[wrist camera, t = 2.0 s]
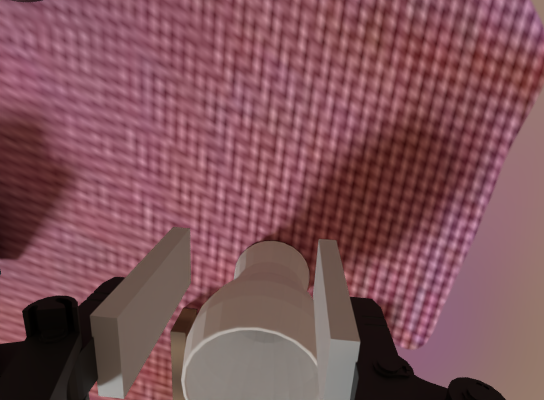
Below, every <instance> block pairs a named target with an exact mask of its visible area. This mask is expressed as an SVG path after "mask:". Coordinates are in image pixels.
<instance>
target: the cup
mask: <svg viewBox="0 0 544 400" xmlns="http://www.w3.org/2000/svg"><path fill="white" fill-rule="evenodd" d="M308 284H309V268H308V266H307V263H306V261H305V259H304V258H303V256H302V255H301V254H300V253H299V252H298V251H297V250H296V249H295V248H293V247H291V246H289V245H287V244H285V243H282V242H277V241H264V242H260V243H257V244H254V245H252V246H251V247H249V248H247V249H246V250H245V251H244V252H243V253H242V254H241V256H240V257H239V259H238V261H237V263H236V269H235V275H234V280H233V281H231V282H229V283H227V284H226V285H224V286H223V287H222V288H221V289H219V290H218V291H217V292H216V293H214V294H213V295H212V296H211V297H210V298H209V299H208V301H207V302H206V303H205V304H204V305H203V306H202V307H201V309H200V311H199V313H198V315H197V317H196V319H195V321H194V323H193V325H192V328H191V330H190V332H189V334H188V336H187V340H186V346H185V353H184V361H183V369H182V377H181V382H182V388H183V394H184V397H185V400H319V383H318V366H317V349H316V333H315V316H314V300H313V298H312V297H311V296H310V294H309V293H308V292H307V289H308Z"/></svg>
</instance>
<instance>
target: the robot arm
mask: <svg viewBox="0 0 544 400" xmlns="http://www.w3.org/2000/svg"><path fill="white" fill-rule="evenodd" d="M11 1H17V2H36V1H42V0H11ZM190 283H191V264H190V228H179V227H173V228H172V229H171V230H170V231H169V232H168V233H167V234H166V235H165V236H164V237H163V238H162V240H161V241H160V242H159V243H158V244H157V245H156V246H155V247H154V248H153V249H152V250H151V251H150V252H149V253H148V254H147V255H146V256H145V258H144V259H143V260H142V261H141V262H140V263H139V264H138V265H137V266H136V267H135V268H134V269H133V270H132V271H131V272H130V273H129V275H128V276H127V277H126V278H124V277H114V278H112V279H110V280H108V281H106V282H104V283H102V284H101V285H100V286H99V287H98V288H97V289H96V290H95V291H94V293H92V294H91V295H90V296H89V297H88V298H87V300H85V301H84V302H83V303H81V304H80V305H79V306H78V302H77V301H76V300H75V298H72V297H69V296H52V297H47V298H44V299H41V300H37V301H36V302H34V303H32V304H30V305H28V306H27V307H26V308H25V309H24V310H23V311H22V313H23V319H24V324H25V330H26V336H27V338H26V339H25V341H21V342H13V343H5V344H0V400H89V391H90V389H91V388H92V387H93V385H94V384H95V382H96V381H97V384H98V393H99V396H105V397H114V398H123V399H124V398H125V396H126V394H127V393H128V391H129V389H130V387H131V386H132V384H133V382H134V380H135V379H136V377H137V375H138V374H139V372H140V370H141V368H142V367H143V365H144V363H145V361H146V360H147V358H148V356H149V354H150V353H151V351H152V349H153V348H154V346H155V344H156V342H157V341H158V339H159V337H160V335H161V334H162V332H163V330H164V328H165V327H166V325H167V323H168V322H169V320H170V318H171V316H172V315H173V313H174V311H175V309H176V308H177V306H178V304H179V302H180V301H181V299H182V297H183V295H184V294H185V292H186V290H187V289H188V287H189V285H190ZM313 299H314V316H315V333H316V349H317V366H318V383H319V400H506V399H505V398H504V397H503V396H502V395H501V394H500V393H499V392H498V391H496V390H495V389H494V388H493V387H491V386H490V385H487V384H485V383H483V382H481V381H479V380H476V379H472V378H468V377H467V378H466V377H465V378H456V379H454V380H452V381H451V382H450V384H449V386H448V388H445V387H442V386H439V385H436V384H433V383H430V382H427V381H425V380H423V379H421V378H419V377H417V376H416V375H414V372H413V369H412V367H411V366H410V365H409V364H408V362H407V361H405V360H404V359H402V358H401V357H400V356H398V353H397V350H396V348H395V345H394V342H393V339H392V337H391V334H390V331H389V329H388V328H387V323H386V320H385V319H384V315H383V312H382V310H381V307H380V306H379V305H378V304H377V303H376V302H375V301H374V300H373V299H369V298H358V297H350V296H349V292H348V288H347V283H346V279H345V275H344V271H343V266H342V262H341V258H340V254H339V249H338V245H337V241H336V240H327V239H319V241H318V251H317V261H316V271H315V281H314V291H313Z"/></svg>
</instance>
